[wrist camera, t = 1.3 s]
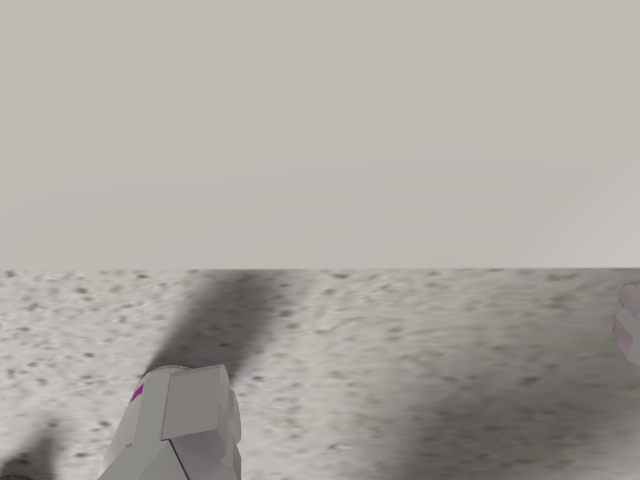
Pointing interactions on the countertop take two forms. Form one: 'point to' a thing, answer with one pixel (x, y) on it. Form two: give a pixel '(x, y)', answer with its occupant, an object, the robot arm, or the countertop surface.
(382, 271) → the countertop surface
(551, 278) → the countertop surface
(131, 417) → the supplement can
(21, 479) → the grey tall rounded piece
